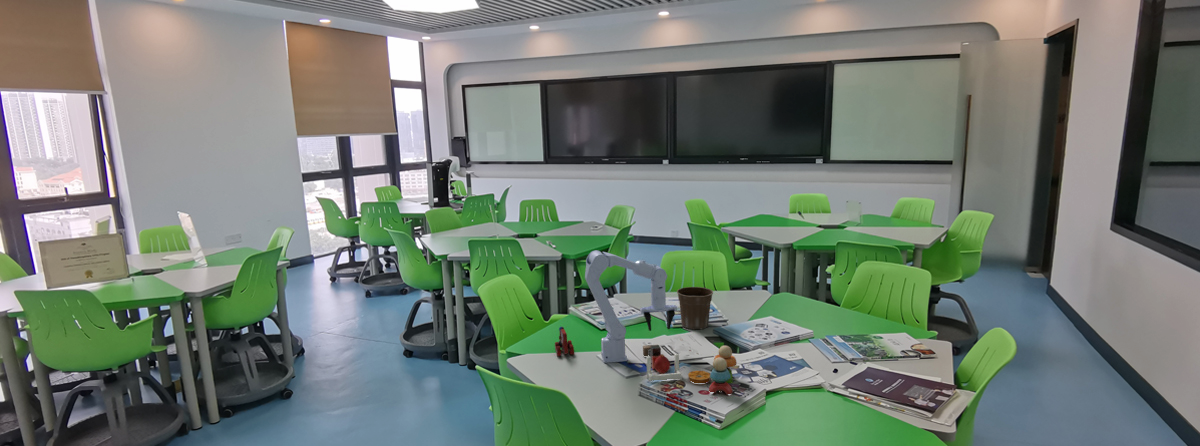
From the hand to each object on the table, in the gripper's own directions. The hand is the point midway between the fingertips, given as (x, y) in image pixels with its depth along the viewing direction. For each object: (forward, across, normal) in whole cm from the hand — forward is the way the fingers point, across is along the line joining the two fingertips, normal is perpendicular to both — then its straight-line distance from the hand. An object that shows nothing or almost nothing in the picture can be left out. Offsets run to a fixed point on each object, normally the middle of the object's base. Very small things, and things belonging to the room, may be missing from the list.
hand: (659, 329), depth 236 cm
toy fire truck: (+10, -38, +9) cm, 40 cm away
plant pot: (+10, +23, +29) cm, 38 cm away
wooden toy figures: (+10, +12, -34) cm, 37 cm away
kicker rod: (+10, -4, -7) cm, 13 cm away
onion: (+10, -4, -21) cm, 24 cm away
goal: (+10, -4, -24) cm, 27 cm away
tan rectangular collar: (+10, -4, -2) cm, 11 cm away
